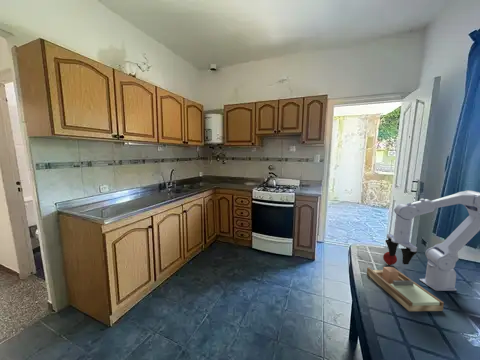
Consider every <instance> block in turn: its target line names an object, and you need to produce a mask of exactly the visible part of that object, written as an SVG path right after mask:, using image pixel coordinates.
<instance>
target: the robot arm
mask: <svg viewBox="0 0 480 360" xmlns="http://www.w3.org/2000/svg"><path fill="white" fill-rule="evenodd" d="M406 203H407V204H405V203H399V204H398V205H396V206H395V208H394V209H393V211H394V213H395V222H394V231H393V234H391V233H390V234H388V233H387V234H386V239H385V244H386V246H387V248H388V252H389V254H390V256H395V255H396V254H397V248H398V247H399V245H400V246H402V247H404V248H400V250H401V253H402V264H403V265H409V264H410V261H411V260H412V258H413V257H414V256H415V255H416V254H418V247H417V246H415V245H414V244H413V243H412V242H411V241H410V240H411V239H410V238H411V231H412V230H411V229H412V223H413V219H414V218H416V216H421V215H425V214H428V213H432V212H434V211H435V209H437V208H438V209H439V208H442V207H443V208H444V207H449V206H455V205H463V206H464V207H465V209H466V210H467V212H468V216H467V217H466V218H465V219H464V220H463V221H462V222H461V223H460V224H459V225H458V226H457V227H456V228H455V229H454V230H453V231H452V232H451V233H450V234H449V235H448V236H447V237H446V238H445V240H443V242H441V243H435V245H434V246H432V247H429V248H427V249H426V251H425V256H426V259H427V264H426V271H425V277H424V278H419V281H420V282H422V283H424V284H425V285H426V286H428V287H430V288H431V289H432V290H434V291H436V292H437V291H438V292H439V291H440V292H442V291H444V292H445V291H446V292H447V291H448V292H449V291H451V292H452V291H457V288H455V286H456V280H457V272H456V270H455V267H456V265H457V264H456V263H457V262H458V261H459V259H460V258H459V255H458V253H459V252H460V251H461V250H462V248H463V247H464V246H465V245H467V243H469V242H470V241H471V240H472V239H473V237H475V236H476V234H479V232H480V192H479V191H475V190H471V189H470V190H464V191H458V192H456V193H453V194H450V195H446V196H443V197H440V198H436V199H433V200H430V199H428V198H425V199H424V198H420V199H419V200H416V201H413V202H406Z"/></svg>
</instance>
